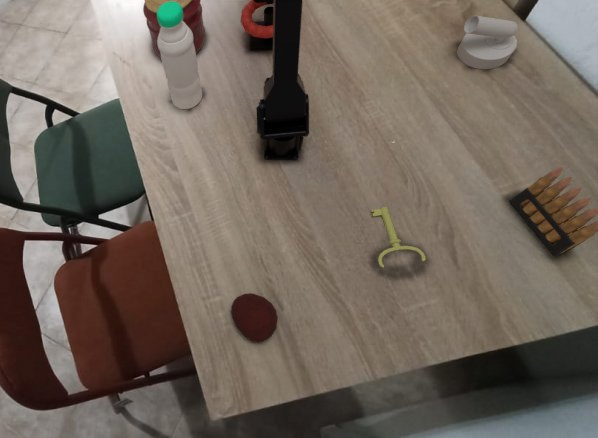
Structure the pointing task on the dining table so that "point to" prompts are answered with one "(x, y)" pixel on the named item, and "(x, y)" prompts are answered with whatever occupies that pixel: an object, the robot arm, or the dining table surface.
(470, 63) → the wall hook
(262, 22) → the black angled piece
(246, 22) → the red ring
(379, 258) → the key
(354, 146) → the dining table surface
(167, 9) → the water bottle
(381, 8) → the dining table surface
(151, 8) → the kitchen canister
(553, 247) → the ammunition clip
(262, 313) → the potato
